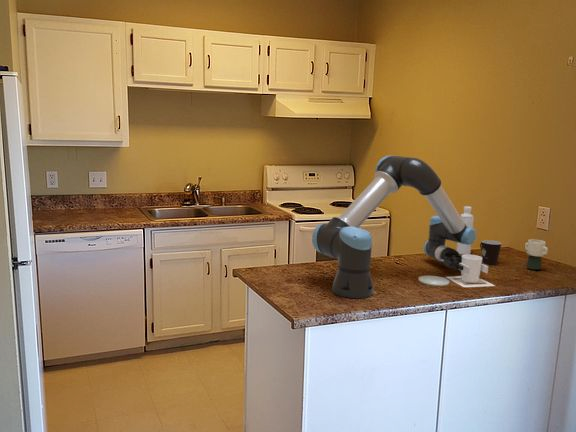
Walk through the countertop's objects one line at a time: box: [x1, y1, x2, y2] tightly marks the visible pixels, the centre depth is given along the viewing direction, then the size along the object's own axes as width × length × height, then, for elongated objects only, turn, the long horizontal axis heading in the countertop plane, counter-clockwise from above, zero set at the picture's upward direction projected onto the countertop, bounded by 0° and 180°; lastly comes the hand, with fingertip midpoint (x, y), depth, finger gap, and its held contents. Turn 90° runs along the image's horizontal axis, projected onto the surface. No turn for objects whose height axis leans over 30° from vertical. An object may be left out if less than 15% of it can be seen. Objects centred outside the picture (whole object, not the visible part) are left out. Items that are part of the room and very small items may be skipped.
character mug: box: [524, 239, 549, 271], centre depth 230 cm, size 11×7×13 cm, turn 29°
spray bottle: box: [455, 206, 475, 255], centre depth 255 cm, size 7×7×25 cm
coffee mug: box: [479, 239, 502, 266], centre depth 240 cm, size 12×9×10 cm
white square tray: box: [445, 275, 496, 288], centre depth 209 cm, size 14×14×1 cm
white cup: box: [460, 254, 482, 283], centre depth 208 cm, size 8×8×10 cm
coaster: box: [418, 275, 450, 287], centre depth 207 cm, size 12×12×1 cm
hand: (478, 270), depth 203 cm, fingers closed on white cup, 7 cm apart
